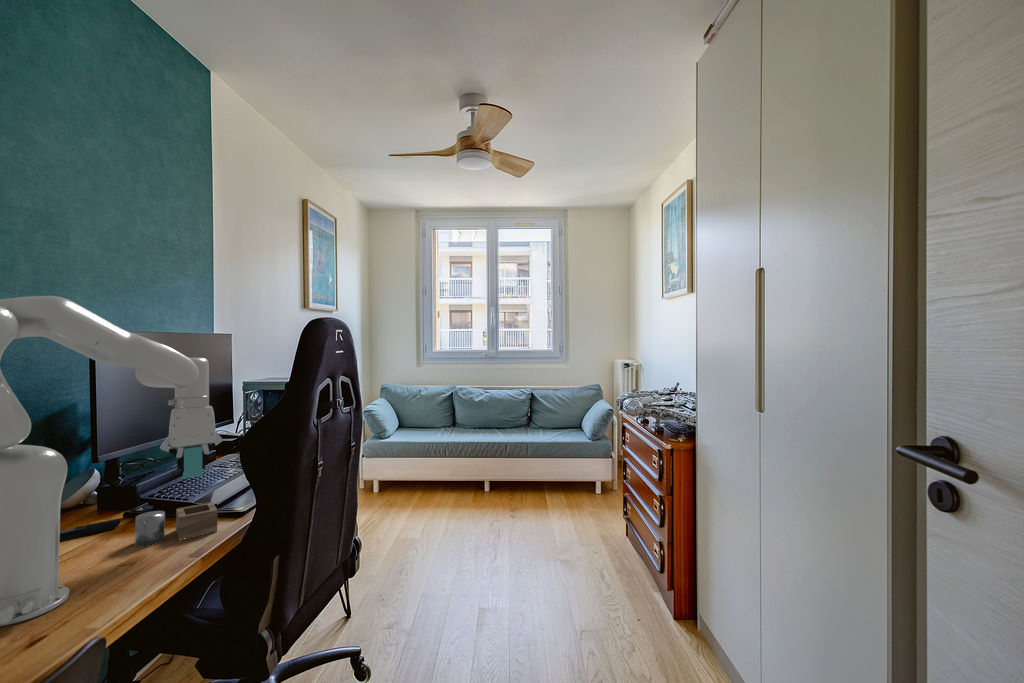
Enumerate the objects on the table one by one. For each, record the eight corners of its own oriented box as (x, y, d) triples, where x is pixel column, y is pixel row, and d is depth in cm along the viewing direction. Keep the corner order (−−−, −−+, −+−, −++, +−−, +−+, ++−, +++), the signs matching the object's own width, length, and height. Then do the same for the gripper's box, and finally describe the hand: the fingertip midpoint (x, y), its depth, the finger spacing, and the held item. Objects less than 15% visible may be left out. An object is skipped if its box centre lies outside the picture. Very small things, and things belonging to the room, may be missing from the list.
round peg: (165, 542, 115) (165, 515, 116) (135, 549, 111) (135, 521, 112) (163, 534, 120) (164, 509, 120) (134, 541, 116) (135, 514, 116)
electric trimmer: (121, 530, 123) (121, 519, 123) (40, 547, 112) (41, 535, 112) (120, 526, 126) (120, 515, 126) (41, 542, 115) (41, 530, 115)
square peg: (202, 475, 120) (202, 446, 119) (184, 478, 117) (183, 449, 117) (200, 472, 123) (200, 443, 122) (182, 475, 120) (182, 446, 120)
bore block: (217, 531, 122) (217, 510, 122) (178, 540, 116) (179, 517, 116) (212, 522, 128) (212, 501, 128) (175, 530, 123) (176, 508, 123)
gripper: (153, 407, 111) (153, 479, 111) (230, 401, 122) (230, 467, 122) (152, 404, 117) (152, 472, 117) (226, 398, 128) (226, 461, 128)
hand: (192, 469), depth 120 cm, fingers closed on square peg, 4 cm apart
